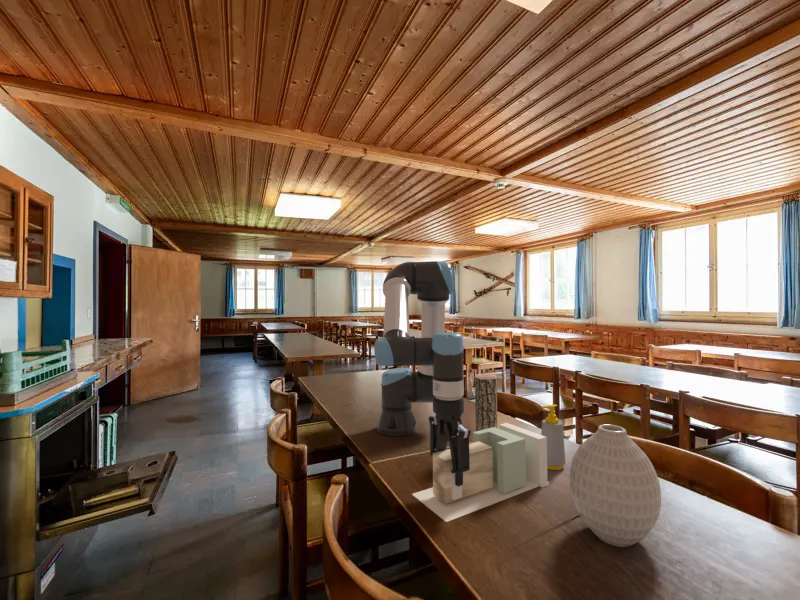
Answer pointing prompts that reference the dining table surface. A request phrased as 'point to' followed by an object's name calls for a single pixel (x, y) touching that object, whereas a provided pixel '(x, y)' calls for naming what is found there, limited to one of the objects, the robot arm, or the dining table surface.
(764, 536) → the dining table surface
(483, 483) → the beige wooden block
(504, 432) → the socket block
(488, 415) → the bark log
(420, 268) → the robot arm
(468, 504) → the track
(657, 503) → the vase
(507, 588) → the dining table surface
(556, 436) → the soap bottle
